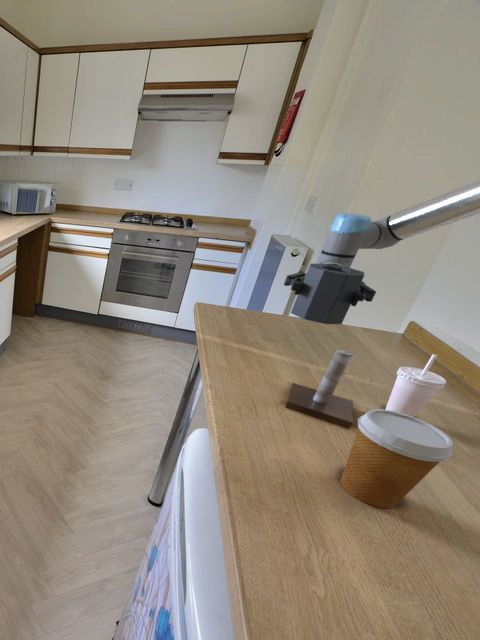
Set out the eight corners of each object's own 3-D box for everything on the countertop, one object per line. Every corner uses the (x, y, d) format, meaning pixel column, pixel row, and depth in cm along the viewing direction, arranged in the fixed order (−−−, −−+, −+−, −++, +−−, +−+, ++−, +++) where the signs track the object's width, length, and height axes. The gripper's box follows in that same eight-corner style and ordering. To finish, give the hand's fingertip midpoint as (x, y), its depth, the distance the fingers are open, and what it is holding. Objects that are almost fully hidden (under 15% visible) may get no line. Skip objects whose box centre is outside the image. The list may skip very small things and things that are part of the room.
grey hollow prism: (341, 316, 102) (363, 269, 97) (341, 327, 95) (364, 277, 90) (293, 306, 108) (311, 261, 103) (289, 315, 101) (308, 268, 96)
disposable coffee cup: (423, 505, 59) (471, 439, 54) (391, 527, 55) (439, 458, 50) (346, 463, 67) (381, 401, 62) (313, 479, 63) (348, 415, 58)
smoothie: (373, 416, 80) (410, 352, 74) (375, 404, 84) (410, 342, 78) (419, 431, 76) (462, 365, 70) (419, 418, 80) (459, 354, 74)
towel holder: (349, 407, 82) (379, 352, 77) (349, 429, 76) (382, 370, 70) (289, 388, 88) (313, 336, 83) (284, 407, 81) (310, 351, 76)
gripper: (378, 300, 106) (383, 323, 91) (274, 281, 119) (263, 298, 104) (392, 272, 103) (400, 290, 87) (284, 255, 116) (274, 269, 100)
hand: (326, 294), depth 95 cm, fingers closed on grey hollow prism, 10 cm apart
